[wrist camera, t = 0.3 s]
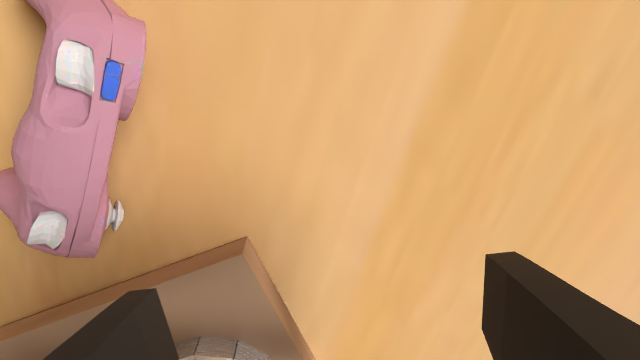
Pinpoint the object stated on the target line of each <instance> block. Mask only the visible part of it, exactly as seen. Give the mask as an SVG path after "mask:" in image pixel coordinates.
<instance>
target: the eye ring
mask: <svg viewBox="0 0 640 360" xmlns="http://www.w3.org/2000/svg"><path fill="white" fill-rule="evenodd" d="M175 347H176V350H177V353H178V356H179V360H271V359H270V357H268V356H267V355H265V354H264V353H262V352H260V351H258V350H256V349H255V348H253V347H251V346H249V345H247V344H245V343H244V342H242V341H240V340H238V341H237V339H228V338H217V337H206V336H201V337H200V336H198V337H195V338H192V339H189V340H186V341H183V342H180V343H178V344H175Z"/></svg>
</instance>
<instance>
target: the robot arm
mask: <svg viewBox="0 0 640 360" xmlns="http://www.w3.org/2000/svg"><path fill="white" fill-rule="evenodd" d="M482 331H483V333H484V336H485V339H486V341H487V344H488V347H489V349H490V352H491V354H492V357H493V359H494V360H640V325H638V324H636V323H635V322H633V321H631V320H629V319H627V318H626V317H624V316H622V315H620V314H619V313H617V312H615V311H613V310H612V309H610V308H608V307H607V306H605V305H603V304H601V303H600V302H598V301H596V300H595V299H593V298H591V297H590V296H588V295H586V294H585V293H583V292H581V291H580V290H578V289H576V288H575V287H573V286H571V285H570V284H568V283H567V282H565V281H563V280H562V279H560V278H558V277H557V276H555V275H553V274H552V273H550V272H549V271H547V270H545V269H544V268H542V267H540V266H539V265H537V264H535V263H534V262H532V261H530V260H529V259H527V258H525V257H524V256H522V255H520V254H518V253H516V252H505V253H495V254H486V258H485V277H484V296H483V315H482ZM43 360H179V356H178V353H177V350H176V347H175V344H174V341H173V338H172V335H171V332H170V329H169V326H168V323H167V320H166V317H165V314H164V311H163V308H162V305H161V301H160V298H159V295H158V292H157V289H156V288H152V289H142V290H132V291H128V292H127V293H125V294H124V295H122V296H121V297H120V298H118V299H117V300H116V301H114V302H113V303H112V304H111V305H109V306H108V307H107V308H105V309H104V310H103V311H102V312H100V313H99V314H98V315H97V316H95V317H94V318H93V319H92V320H91V321H89V322H88V323H87V324H86V325H84V326H83V327H82V328H81V329H80V330H78V331H77V332H76V333H75V334H73V335H72V336H71V337H70V338H68V339H67V340H66V341H65V342H64V343H62V344H61V345H60V346H59V347H57V348H56V349H55V350H54V351H52V352H51V353H50V354H49V355H47V356H46V357H45V358H44V359H43Z"/></svg>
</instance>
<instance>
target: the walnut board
mask: <svg viewBox="0 0 640 360" xmlns="http://www.w3.org/2000/svg"><path fill="white" fill-rule="evenodd" d="M152 288H156V289H157V292H158V295H159V298H160V301H161V305H162V308H163V311H164V314H165V317H166V320H167V323H168V326H169V329H170V332H171V335H172V338H173V341H174V344H178V343H180V342H183V341H186V340H189V339H192V338H195V337H198V336H200V337H201V336H206V337H217V338H228V339H237V341H238V340H240V341H242V342H244V343H245V344H247V345H249V346H251V347H253V348H255V349H256V350H258V351H260V352H262V353H264V354H265V355H267V356H268V357H270V359H271V360H315V358H314V356H313V354H312V352H311V351H310V349H309V347H308V345H307V343H306V342H305V340H304V338H303V336H302V334H301V333H300V331H299V329H298V327H297V325H296V324H295V322H294V320H293V318H292V316H291V315H290V313H289V311H288V309H287V307H286V305H285V304H284V302H283V300H282V298H281V296H280V295H279V293H278V291H277V289H276V287H275V286H274V284H273V282H272V280H271V278H270V277H269V275H268V273H267V271H266V269H265V268H264V266H263V264H262V262H261V260H260V259H259V257H258V255H257V253H256V251H255V249H254V248H253V246H252V244H251V242H250V240H249V239H248V237H245V238H242V239H239V240H236V241H234V242H231V243H228V244H226V245H223V246H220V247H217V248H215V249H212V250H209V251H206V252H204V253H201V254H198V255H196V256H193V257H190V258H187V259H185V260H182V261H179V262H177V263H174V264H171V265H168V266H166V267H163V268H160V269H158V270H155V271H152V272H149V273H147V274H144V275H141V276H139V277H136V278H133V279H130V280H128V281H125V282H122V283H120V284H117V285H114V286H111V287H109V288H106V289H103V290H100V291H98V292H95V293H92V294H90V295H87V296H84V297H81V298H79V299H76V300H73V301H71V302H68V303H65V304H62V305H60V306H57V307H54V308H52V309H49V310H46V311H43V312H41V313H38V314H35V315H33V316H30V317H27V318H24V319H22V320H19V321H16V322H14V323H11V324H8V325H5V326H3V327H0V360H43V359H44V358H45V357H46V356H47V355H49V354H50V353H51V352H52V351H54V350H55V349H56V348H57V347H59V346H60V345H61V344H62V343H64V342H65V341H66V340H67V339H68V338H70V337H71V336H72V335H73V334H75V333H76V332H77V331H78V330H80V329H81V328H82V327H83V326H84V325H86V324H87V323H88V322H89V321H91V320H92V319H93V318H94V317H95V316H97V315H98V314H99V313H100V312H102V311H103V310H104V309H105V308H107V307H108V306H109V305H111V304H112V303H113V302H114V301H116V300H117V299H118V298H120V297H121V296H122V295H124V294H125V293H127V292H128V291H132V290H142V289H152Z"/></svg>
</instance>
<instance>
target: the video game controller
mask: <svg viewBox="0 0 640 360" xmlns="http://www.w3.org/2000/svg"><path fill="white" fill-rule="evenodd" d="M26 1H27V2H28V3H29V4H30V5H31V6H32V7H33V8H34V9H35V10H36V11H37V12H38V13H39V14H40V15H41V17H42V18H43V19H44V21H45V23H46V27H47V28H46V32H45V36H44V40H43V44H42V48H41V52H40V56H39V60H38V64H37V69H36V76H35V82H34V89H33V96H32V99H31V102H30V105H29V107H28V109H27V111H26V112H25V114H24V115H23V117H22V119H21V120H20V123H19V125H18V128H17V130H16V133H15V135H14V138H13V144H12V151H11V152H12V158H13V164H14V168H10V169H5V170H3V171H1V172H0V209H1V210H2V211H3V212H4V213H5V214H6V215H7V217H8V218H9V219H10V220H11V221H12V222H13V224H14V226H15V228H16V230H17V233H18V236H19V238H20V240H21V241H22V242H23V243H24V244H26V245H27V246H29V247H32V248H35V249H38V250H40V251H43V252H46V253H49V254H53V255H58V256H65V257H78V258H94V257H95V255H96V254H97V252H98V249H99V246H100V243H101V238H102V236H103V234H104V232H105V230H106V229H107V228H108V226H109V225H110V223H111V222H112V230H113V231H116V230H117V228H118V227H119V226H120V224H121V223H122V221H123V216H124V209H123V208H122V205H121V203H120V201H119V200H117V201H116V202H115V206H114V208H113V207H112V204H111V201H110V199H109V196H108V167H109V162H110V158H111V153H112V148H113V143H114V138H115V133H116V128H117V123H118V120H123V121H126V120H127V119H128V117H129V115H130V113H131V111H132V109H133V106H134V103H135V100H136V97H137V93H138V90H139V86H140V82H141V80H142V74H143V69H144V56H145V48H146V26H145V23H144V21H142V20H139V19H136V18H133V17H130V16H128V15H127V14H126V12H125V11H124V10H123V9H122V8H121V7H120V6H118V5H117V4H116V3H114V2H113V1H112V0H26Z"/></svg>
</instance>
